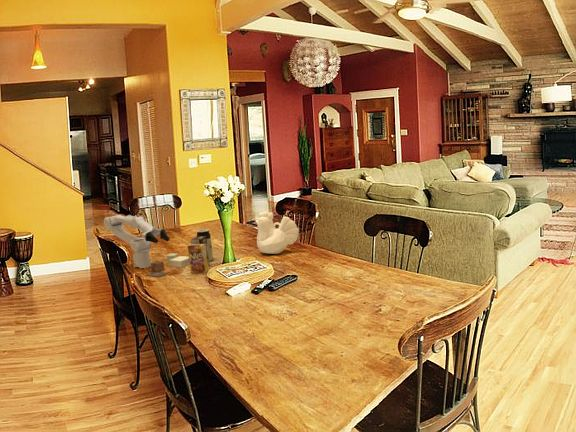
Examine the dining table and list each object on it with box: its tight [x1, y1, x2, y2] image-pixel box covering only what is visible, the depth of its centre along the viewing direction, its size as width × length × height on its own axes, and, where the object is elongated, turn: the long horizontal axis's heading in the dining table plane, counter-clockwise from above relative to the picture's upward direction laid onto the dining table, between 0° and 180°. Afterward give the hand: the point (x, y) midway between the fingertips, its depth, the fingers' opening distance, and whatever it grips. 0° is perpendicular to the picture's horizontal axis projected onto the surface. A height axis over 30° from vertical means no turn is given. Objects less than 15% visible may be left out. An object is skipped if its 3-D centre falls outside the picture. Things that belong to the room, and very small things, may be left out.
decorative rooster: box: [254, 210, 300, 255], centre depth 314 cm, size 25×16×25 cm, turn 67°
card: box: [145, 271, 169, 278], centre depth 292 cm, size 10×7×1 cm
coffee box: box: [190, 236, 210, 265], centre depth 301 cm, size 9×6×16 cm
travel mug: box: [195, 228, 214, 262], centre depth 313 cm, size 8×8×18 cm
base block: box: [169, 255, 190, 268], centre depth 309 cm, size 9×9×4 cm
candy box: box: [187, 243, 209, 274], centre depth 289 cm, size 9×4×15 cm, turn 73°
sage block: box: [165, 252, 179, 265], centre depth 316 cm, size 5×5×5 cm
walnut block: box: [150, 260, 165, 273], centre depth 300 cm, size 5×5×5 cm
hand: (162, 240), depth 297 cm, fingers open, 7 cm apart
